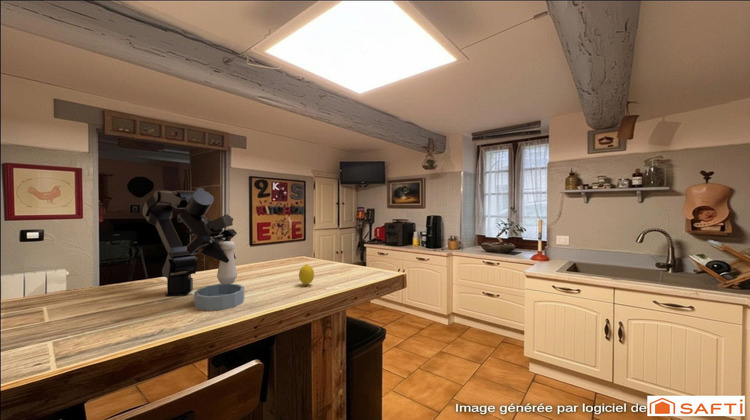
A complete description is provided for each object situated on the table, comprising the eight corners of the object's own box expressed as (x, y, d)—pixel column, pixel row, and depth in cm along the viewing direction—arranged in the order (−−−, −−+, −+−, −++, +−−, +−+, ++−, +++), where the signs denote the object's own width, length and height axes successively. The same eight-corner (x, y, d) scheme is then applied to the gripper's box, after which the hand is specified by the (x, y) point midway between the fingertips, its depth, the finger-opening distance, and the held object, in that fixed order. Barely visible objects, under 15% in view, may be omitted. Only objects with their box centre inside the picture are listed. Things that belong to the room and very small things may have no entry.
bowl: (188, 312, 90) (188, 298, 90) (202, 296, 104) (201, 284, 103) (240, 308, 94) (240, 295, 94) (246, 294, 107) (246, 282, 107)
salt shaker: (217, 280, 101) (217, 240, 100) (236, 279, 103) (237, 239, 103) (216, 286, 96) (217, 243, 95) (237, 284, 98) (237, 242, 97)
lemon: (310, 288, 116) (310, 266, 115) (296, 286, 117) (296, 265, 117) (316, 283, 121) (316, 263, 121) (302, 282, 122) (302, 262, 122)
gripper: (196, 208, 89) (233, 249, 89) (231, 205, 108) (262, 239, 107) (170, 234, 90) (206, 274, 90) (209, 226, 109) (239, 260, 109)
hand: (231, 260), depth 99 cm, fingers closed on salt shaker, 3 cm apart
